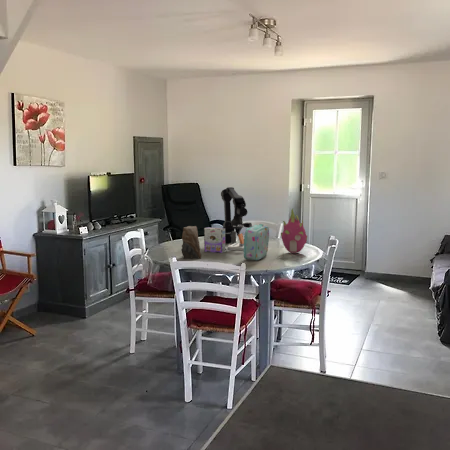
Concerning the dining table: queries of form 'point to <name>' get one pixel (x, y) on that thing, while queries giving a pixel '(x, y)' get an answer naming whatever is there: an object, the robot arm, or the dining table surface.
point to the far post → (233, 237)
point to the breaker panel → (236, 246)
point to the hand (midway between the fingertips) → (237, 236)
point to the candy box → (214, 240)
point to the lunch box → (256, 242)
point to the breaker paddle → (241, 238)
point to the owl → (190, 243)
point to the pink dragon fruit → (294, 234)
